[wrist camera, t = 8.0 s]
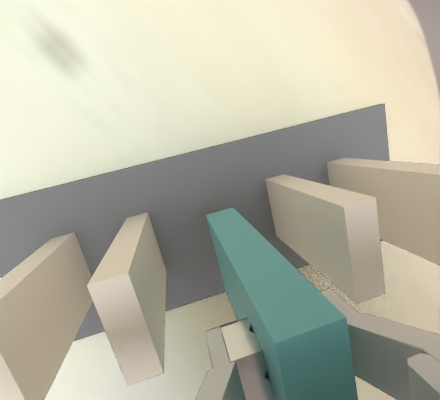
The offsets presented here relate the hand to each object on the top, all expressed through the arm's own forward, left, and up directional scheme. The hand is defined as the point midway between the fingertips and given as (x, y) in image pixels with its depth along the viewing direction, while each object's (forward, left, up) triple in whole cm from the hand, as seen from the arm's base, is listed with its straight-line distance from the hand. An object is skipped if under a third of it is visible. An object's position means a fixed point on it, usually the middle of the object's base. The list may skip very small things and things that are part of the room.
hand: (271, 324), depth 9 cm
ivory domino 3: (-5, -3, -13) cm, 14 cm away
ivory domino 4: (-10, -5, -13) cm, 17 cm away
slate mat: (0, 0, -13) cm, 13 cm away
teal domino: (0, 0, -7) cm, 7 cm away
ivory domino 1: (+9, +6, -13) cm, 17 cm away
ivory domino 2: (+5, +3, -13) cm, 14 cm away
